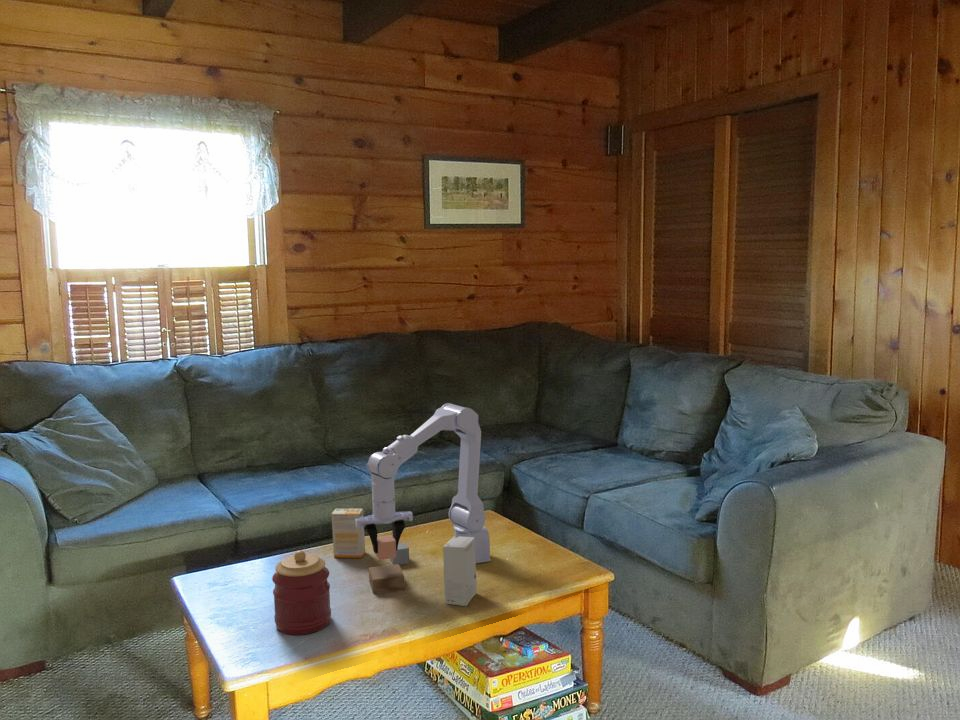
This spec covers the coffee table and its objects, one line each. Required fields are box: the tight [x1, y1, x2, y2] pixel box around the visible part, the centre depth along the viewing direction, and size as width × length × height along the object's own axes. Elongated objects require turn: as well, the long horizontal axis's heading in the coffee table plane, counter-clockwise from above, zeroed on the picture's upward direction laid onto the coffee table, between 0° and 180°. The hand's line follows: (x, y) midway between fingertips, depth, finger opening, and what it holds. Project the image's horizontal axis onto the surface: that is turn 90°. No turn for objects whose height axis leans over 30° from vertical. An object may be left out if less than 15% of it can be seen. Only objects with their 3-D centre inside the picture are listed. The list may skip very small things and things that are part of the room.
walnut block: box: [368, 564, 405, 595], centre depth 209 cm, size 8×8×4 cm
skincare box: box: [442, 536, 478, 607], centre depth 200 cm, size 8×6×15 cm
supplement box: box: [331, 507, 366, 559], centre depth 229 cm, size 8×5×13 cm, turn 84°
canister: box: [271, 549, 332, 636], centre depth 188 cm, size 13×13×18 cm
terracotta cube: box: [374, 534, 396, 561], centre depth 208 cm, size 4×4×4 cm
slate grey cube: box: [389, 542, 410, 565], centre depth 224 cm, size 4×4×4 cm
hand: (385, 550), depth 208 cm, fingers closed on terracotta cube, 4 cm apart
